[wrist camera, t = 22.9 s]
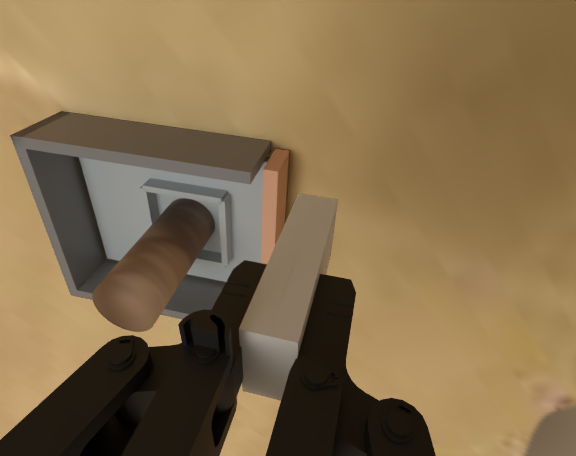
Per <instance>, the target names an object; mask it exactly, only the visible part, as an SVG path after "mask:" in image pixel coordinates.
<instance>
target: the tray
mask: <svg viewBox="0 0 576 456" xmlns="http://www.w3.org/2000/svg"><path fill="white" fill-rule="evenodd" d="M79 160H80V163H81V167H82V170H83V174H84V177H85V181H86V185H87V188H88V192H89V195H90V199H91V202H92V206H93V209H94V213H95V217H96V220H97V224H98V227H99V231H100V234H101V238H102V241H103V245H104V249H105V252H106V256H107V258H108V259H113V260H118V261H120V260H121V259H122V258H123V257H124V256H125V254H126V253H127V252H128V251H129V250H130V249H131V248H132V247H133V245H134V244H135V243H136V242H137V241H138V240H139V239H140V238H141V236H142V235H143V234H144V233H145V232H146V231H147V230H148V228H149V227H150V226H151V225H152V224H153V223H154V222H155V221H156V219H157V218H158V217H159V216H160V215H161V214H162V213H163V212H164V210H165V209H166V208H167V207H168V206H169V205H170V204H171V203H172V202H173V201H174V200H177V199H180V198H187V199H192V200H195V201H197V202H199V203H201V204H202V205H204V206H205V207H206V208H207V209H208V210H209V212H210V213H211V214H212V216H213V219H214V222H215V229H214V232H213V234H212V235H211V237H210V238H209V240H208V241H207V243H206V245H205V246H204V248H203V249H202V251H201V252H200V254H199V255H198V257H197V259H196V260H195V262H194V263H193V265H192V266H191V268H190V269H189V271H188V272H187V274H189V275H194V276H199V277H204V278H209V279H214V280H219V281H224V282H227V280H228V278H229V276H230V274H231V272H232V270H233V269H234V268H235V267H236V266H238V265H239V264H240V263H241V262H243V261H244V260H248V261H253V262H258V263H263V264H268V261H269V259H270V257H271V254H272V252H273V250H274V248H275V245H276V243H277V241H278V238H279V236H280V234H281V232H282V229H283V227H284V225H285V212H286V195H287V179H288V162H289V151H288V150H281V149H275V150H274V152H273V153H272V155H271V157H270V158H267V159H266V160H265V162H264V163H263V165H262V167H261V168H260V170H259V171H258V173H257V175H256V176H255V178H254V180H253V181H252V183H251V184H244V183H238V182H231V181H225V180H219V179H213V178H206V177H200V176H194V175H187V174H181V173H175V172H168V171H162V170H156V169H150V168H143V167H137V166H131V165H124V164H118V163H112V162H106V161H99V160H93V159H87V158H80V157H79Z"/></svg>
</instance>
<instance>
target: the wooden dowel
mask: <svg viewBox="0 0 576 456" xmlns="http://www.w3.org/2000/svg"><path fill="white" fill-rule="evenodd" d="M214 229H215V222H214V219H213V216H212V214H211V213H210V212H209V210H208V209H207V208H206V207H205V206H204V205H202V204H201V203H199V202H197V201H195V200H192V199H187V198H180V199H177V200H174V201H173V202H172V203H171V204H170V205H169V206H168V207H167V208H166V209H165V210H164V212H163V213H162V214H161V215H160V216H159V217H158V218H157V219H156V221H155V222H154V223H153V224H152V225H151V226H150V227H149V228H148V230H147V231H146V232H145V233H144V234H143V235H142V236H141V238H140V239H139V240H138V241H137V242H136V243H135V244H134V245H133V247H132V248H131V249H130V250H129V251H128V252H127V253H126V254H125V256H124V257H123V258H122V259H121V260H120V261H119V262H118V263H117V265H116V266H115V267H114V268H113V269H112V270H111V271H110V272H109V274H108V275H107V276H106V277H105V278H104V279H103V280H102V282H101V283H100V284H99V285H98V286H97V287H96V288H95V290H94V291H93V295H92V298H93V302H94V305H95V307H96V308H97V310H98V311H99V312H100V313H101V314H102V315H103V316H104V317H105V318H106V319H107V320H108V321H110V322H111V323H113V324H115V325H116V326H118V327H121V328H123V329H126V330H129V331H135V332H142V331H146V330H149V329H150V328H152V327H153V325H154V324H155V322H156V320H157V319H158V317H159V316H160V314H161V313H162V311H163V310H164V308H165V307H166V305H167V303H168V302H169V300H170V299H171V297H172V296H173V294H174V293H175V291H176V289H177V288H178V286H179V285H180V283H181V282H182V280H183V279H184V277H185V276H186V274H187V272H188V271H189V269H190V268H191V266H192V265H193V263H194V262H195V260H196V259H197V257H198V255H199V254H200V252H201V251H202V249H203V248H204V246H205V245H206V243H207V241H208V240H209V238H210V237H211V235H212V234H213V232H214Z"/></svg>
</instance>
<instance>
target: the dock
mask: <svg viewBox="0 0 576 456" xmlns="http://www.w3.org/2000/svg"><path fill="white" fill-rule="evenodd" d="M10 136H11V139H12V141H13V144H14V146H15V149H16V152H17V154H18V157H19V160H20V162H21V165H22V168H23V170H24V173H25V175H26V178H27V181H28V183H29V186H30V189H31V191H32V194H33V197H34V199H35V202H36V204H37V207H38V210H39V212H40V215H41V218H42V220H43V223H44V226H45V228H46V231H47V234H48V236H49V239H50V241H51V244H52V247H53V249H54V252H55V255H56V257H57V260H58V263H59V265H60V268H61V270H62V273H63V276H64V278H65V281H66V284H67V286H68V289H69V292H70V294H71V295H72V296H77V297H82V298H86V299H91V300H93V298H92V295H93V291H94V290H95V288H96V287H97V286H98V285H99V284H100V283H101V282H102V280H103V279H104V278H105V277H106V276H107V275H108V274H109V272H110V271H111V270H112V269H113V268H114V267H115V266H116V265H117V263H118V262H119V261H118V260H113V259H108V258H107V256H106V252H105V249H104V245H103V241H102V238H101V234H100V231H99V227H98V224H97V220H96V217H95V213H94V209H93V206H92V202H91V199H90V195H89V192H88V188H87V185H86V181H85V177H84V174H83V170H82V167H81V163H80V160H79V157H80V158H87V159H93V160H99V161H106V162H112V163H118V164H124V165H131V166H137V167H143V168H150V169H156V170H162V171H168V172H175V173H181V174H187V175H194V176H200V177H206V178H213V179H219V180H225V181H231V182H238V183H244V184H251V183H252V181H253V180H254V178H255V176H256V175H257V173H258V171H259V170H260V168H261V167H262V165H263V163H264V162H265V160H266V159H267V157H268V155H269V154H270V152H271V141H268V140H261V139H253V138H246V137H239V136H232V135H225V134H218V133H211V132H204V131H197V130H190V129H183V128H176V127H168V126H161V125H154V124H147V123H140V122H133V121H126V120H119V119H112V118H105V117H98V116H91V115H83V114H76V113H69V112H62V111H61V112H59V113H57V114H55V115H52V116H50V117H48V118H46V119H44V120H42V121H40V122H38V123H36V124H33V125H31V126H29V127H27V128H25V129H23V130H21V131H19V132H17V133H14V134H12V135H10ZM225 283H227V282H224V281H219V280H214V279H209V278H204V277H199V276H194V275H189V274H186V276H185V277H184V279H183V280H182V282H181V283H180V285H179V286H178V288H177V289H176V291H175V293H174V294H173V296H172V297H171V299H170V300H169V302H168V303H167V305H166V307H165V308H164V310H163V311H162V313H161V314H160V315H165V316H170V317H174V318H179V319H184V317H186V316H187V315H189V314H191V313H193V312H195V311H200V310H204V309H205V310H211V309H212V308H213V306H214V304H215V302H216V300H217V298H218V296H219V295H220V293H221V292H222V289H223V287H224V285H225Z"/></svg>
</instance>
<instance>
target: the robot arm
mask: <svg viewBox="0 0 576 456" xmlns="http://www.w3.org/2000/svg"><path fill="white" fill-rule="evenodd" d="M337 203H338V199H332V198H326V197H319V196H313V195H307V194H301V193H298V195H297V197H296V200H295V202H294V204H293V207H292V209H291V211H290V213H289V216H288V218H287V220H286V222H285V225H284V227H283V229H282V232H281V234H280V236H279V238H278V241H277V243H276V245H275V248H274V250H273V252H272V254H271V257H270V259H269V261H268V264H263V263H258V262H253V261H248V260H244V261H243V262H241V263H240V264H239V265H238V266H236V267H235V268H234V269H233V270H232V272H231V274H230V276H229V278H228V280H227V283H225V285H224V287H223V289H222V292H221V293H220V295H219V296H218V298H217V300H216V302H215V304H214V306H213V308H212V309H211V310H205V309H204V310H200V311H195V312H193V313H191V314H189V315H187V316H186V317H184V319H183V320H182V321H181V322H180V323H179V324H178V325H179V330H180V334H181V339H182V343H181V344H177V345H171V346H157V347H148V345H147V343H146V342H145V341H144V340H143V339H142V338H140V337H136V336H133V335H131V336H121V337H118V338H116V339H113V340H111V341H110V342H108V343H107V344H105V345H104V346H102V347H101V348H100V349H99V350H98V351H97V352H96V353H95V354H94V355H93V356H92V357H90V358H89V359H88V360H87V361H86V362H85V363H84V364H83V365H82V366H81V367H79V368H78V369H77V370H76V371H75V372H74V373H73V374H72V375H71V376H70V377H69V378H67V379H66V380H65V381H64V382H63V383H62V384H61V385H60V386H59V387H58V388H57V389H55V390H54V391H53V392H52V393H51V394H50V395H49V396H48V397H47V398H46V399H45V400H43V401H42V402H41V403H40V404H39V405H38V406H37V407H36V408H35V409H34V410H33V411H31V412H30V413H29V414H28V415H27V416H26V417H25V418H24V419H23V420H22V421H21V422H19V423H18V424H17V425H16V426H15V427H14V428H13V429H12V430H11V431H10V432H9V433H7V434H6V435H5V436H4V437H3V438H2V439H1V440H0V456H219V455H220V452H221V450H222V447H223V444H224V441H225V439H226V436H227V433H228V430H229V428H230V425H231V422H232V419H233V417H234V414H235V411H236V406H237V394H238V391H239V389H240V386H241V383H242V387H243V391H246V392H250V393H254V394H258V395H262V396H265V397H269V398H273V399H277V400H281V403H280V407H279V410H278V414H277V417H276V421H275V425H274V428H273V432H272V435H271V439H270V442H269V446H268V449H267V453H266V456H436V455H435V452H434V448H433V444H432V441H431V437H430V434H429V430H428V427H427V425H426V422H425V420H424V418H423V416H422V415H421V414H420V413H419V412H418V411H417V410H416V408H415V407H414V406H412V405H410V404H408V403H407V402H405V401H403V400H399V399H394V398H389V399H383V400H380V401H379V400H377V399H375V398H374V397H372V396H370V395H369V394H367V393H365V392H364V391H362V390H361V389H360V388H358V387H357V386H356V385H355V384H354V382H353V381H352V380H351V378H350V376H349V375H348V372H347V369H346V355H347V349H348V342H349V335H350V329H351V322H352V316H353V309H354V302H355V296H356V292H355V289H354V286H353V284H352V281H351V280H350V279H345V278H339V277H334V276H329V275H326V272H327V268H328V264H329V260H330V256H331V249H332V241H333V233H334V226H335V218H336V210H337Z"/></svg>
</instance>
